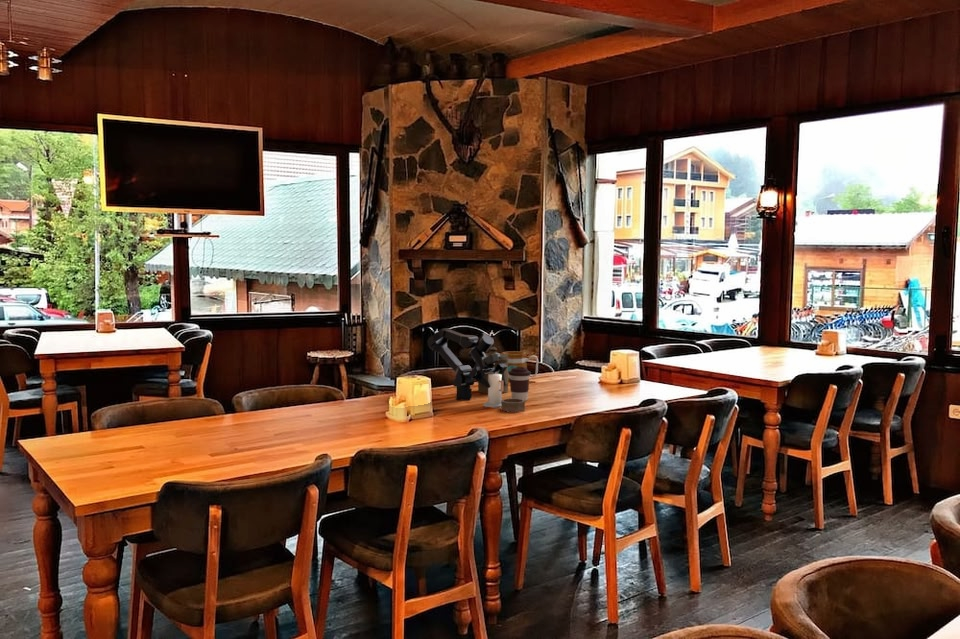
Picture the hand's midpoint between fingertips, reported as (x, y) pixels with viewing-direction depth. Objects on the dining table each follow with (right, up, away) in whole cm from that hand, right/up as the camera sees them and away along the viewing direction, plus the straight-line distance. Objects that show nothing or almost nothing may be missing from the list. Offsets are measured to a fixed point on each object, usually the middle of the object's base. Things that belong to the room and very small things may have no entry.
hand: (497, 386), depth 338 cm
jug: (-1, -8, +2) cm, 8 cm away
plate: (-1, -9, +2) cm, 9 cm away
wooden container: (-1, -6, +38) cm, 38 cm away
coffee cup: (+11, -8, +15) cm, 20 cm away
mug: (+14, -3, +69) cm, 71 cm away
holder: (+7, -10, -7) cm, 14 cm away
